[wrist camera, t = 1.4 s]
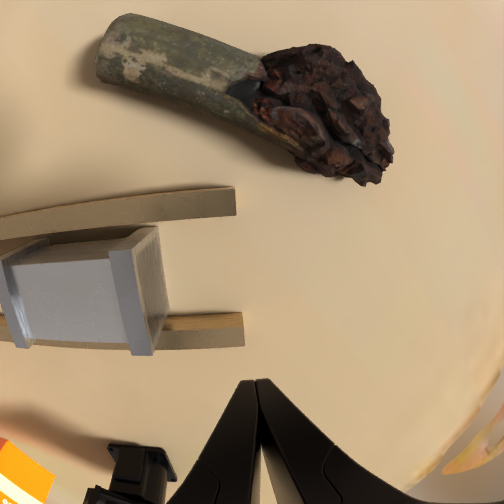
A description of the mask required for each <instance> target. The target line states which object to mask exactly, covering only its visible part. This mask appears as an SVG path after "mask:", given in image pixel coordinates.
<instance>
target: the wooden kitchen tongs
mask: <svg viewBox="0 0 504 504" xmlns="http://www.w3.org/2000/svg"><path fill="white" fill-rule="evenodd" d="M222 216H236V200H235V188H234V187H223V188H209V189H197V190H185V191H174V192H164V193H154V194H145V195H136V196H128V197H120V198H112V199H104V200H97V201H90V202H83V203H77V204H70V205H64V206H58V207H52V208H46V209H41V210H35V211H30V212H25V213H19V214H14V215H9V216H5V217H0V240H4V239H11V238H18V237H25V236H32V235H40V234H48V233H55V232H63V231H72V230H80V229H89V228H98V227H107V226H117V225H127V224H137V223H147V222H158V221H170V220H182V219H194V218H208V217H222ZM0 341H7V342H14V340H13V338H12V335H11V333H10V330H9V327H8V324H7V321H6V319H5V316H4V315H0ZM32 345H43V346H54V347H68V348H85V349H110V350H130V347H129V343H103V342H76V341H59V340H45V339H37V340H36V341H35V342H34V343H33V344H32ZM239 346H245V339H244V326H243V317H242V312H241V313H227V314H211V315H192V316H170V317H166V320H165V322H164V325H163V328H162V331H161V333H160V336H159V339H158V342H157V345H156V347H155V350H181V349H207V348H225V347H239Z"/></svg>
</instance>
